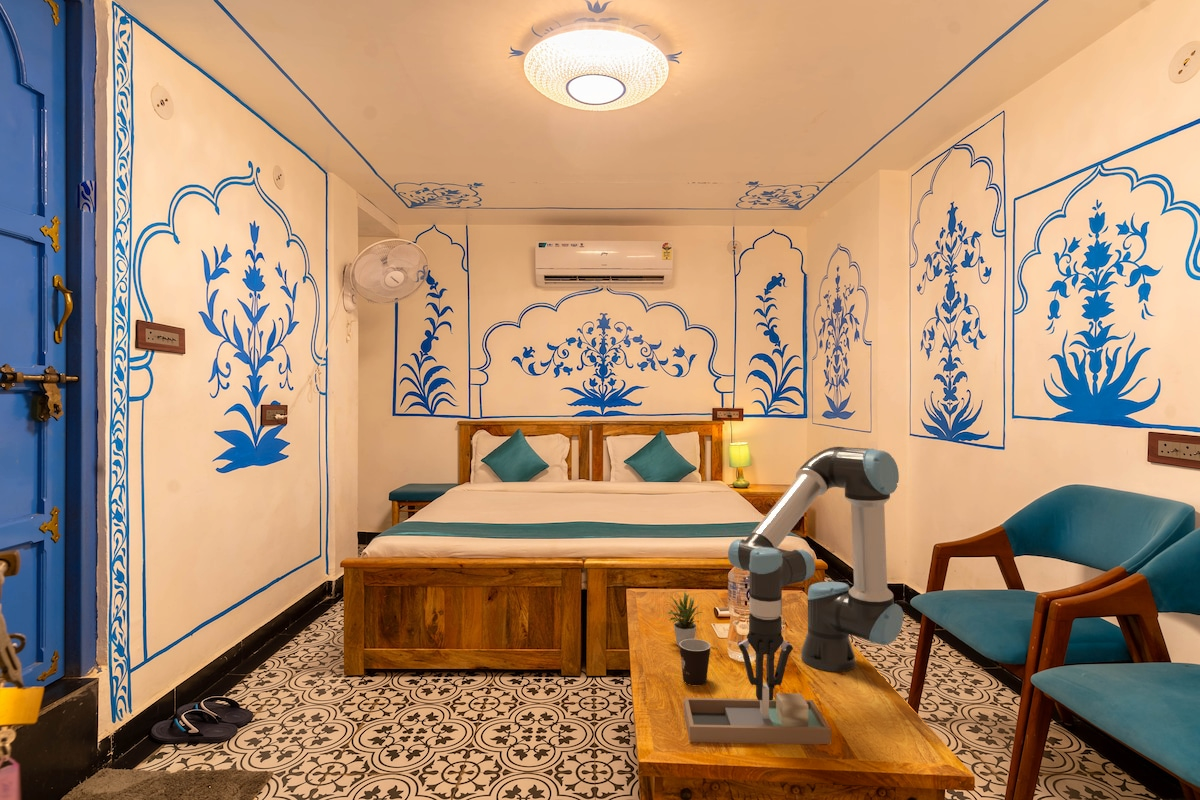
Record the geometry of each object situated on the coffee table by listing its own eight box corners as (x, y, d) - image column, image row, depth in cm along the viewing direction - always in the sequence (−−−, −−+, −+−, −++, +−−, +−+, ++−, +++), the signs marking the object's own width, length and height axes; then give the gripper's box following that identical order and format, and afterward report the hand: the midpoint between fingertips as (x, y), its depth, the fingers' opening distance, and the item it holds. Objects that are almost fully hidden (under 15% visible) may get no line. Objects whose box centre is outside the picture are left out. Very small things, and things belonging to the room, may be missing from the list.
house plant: (659, 634, 212) (659, 585, 212) (701, 635, 212) (702, 585, 212) (662, 651, 198) (662, 599, 198) (707, 652, 198) (707, 599, 198)
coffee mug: (709, 689, 174) (710, 652, 173) (677, 686, 175) (678, 649, 175) (711, 670, 185) (711, 636, 185) (681, 668, 187) (681, 633, 186)
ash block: (801, 714, 156) (801, 693, 156) (808, 726, 150) (808, 705, 150) (776, 713, 156) (776, 693, 156) (782, 726, 150) (782, 705, 150)
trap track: (812, 713, 160) (812, 699, 160) (830, 744, 146) (831, 729, 146) (683, 711, 161) (683, 697, 161) (689, 741, 147) (689, 726, 147)
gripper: (788, 609, 157) (787, 705, 157) (734, 608, 157) (734, 704, 157) (797, 620, 149) (796, 721, 150) (740, 619, 150) (740, 720, 150)
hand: (764, 712), depth 153 cm, fingers closed
